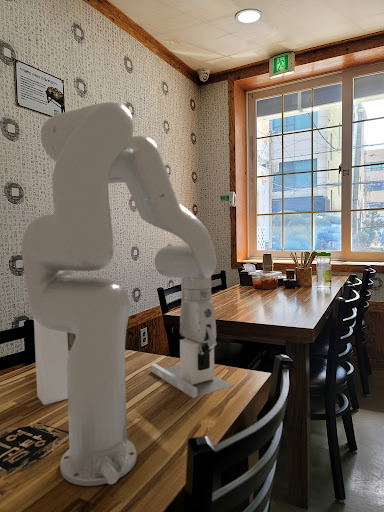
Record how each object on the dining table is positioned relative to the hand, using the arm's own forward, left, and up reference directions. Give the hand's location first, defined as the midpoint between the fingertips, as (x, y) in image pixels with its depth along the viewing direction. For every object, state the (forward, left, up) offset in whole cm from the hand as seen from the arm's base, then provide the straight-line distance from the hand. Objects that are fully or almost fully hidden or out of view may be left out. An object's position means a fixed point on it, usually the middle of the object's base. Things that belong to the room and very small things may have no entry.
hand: (196, 364), depth 94 cm
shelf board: (+2, +1, -5) cm, 6 cm away
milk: (+15, +32, -6) cm, 36 cm away
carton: (0, 0, -4) cm, 4 cm away
